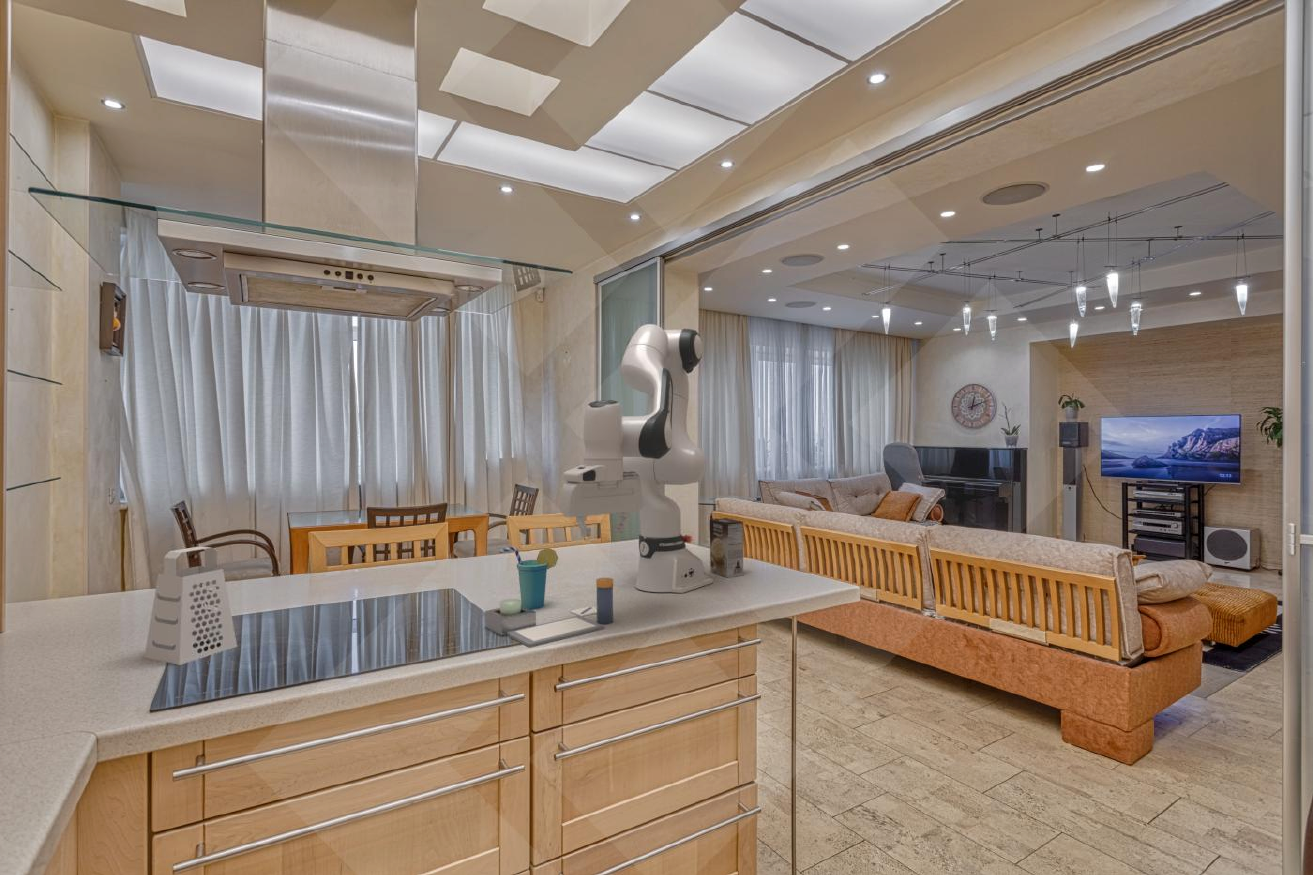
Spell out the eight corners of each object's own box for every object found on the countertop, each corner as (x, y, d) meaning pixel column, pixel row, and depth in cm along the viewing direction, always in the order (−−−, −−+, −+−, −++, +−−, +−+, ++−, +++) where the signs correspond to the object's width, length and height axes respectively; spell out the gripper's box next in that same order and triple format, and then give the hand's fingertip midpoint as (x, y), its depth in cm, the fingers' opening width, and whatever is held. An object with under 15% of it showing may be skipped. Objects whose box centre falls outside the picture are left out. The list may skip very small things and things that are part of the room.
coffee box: (708, 572, 187) (708, 519, 187) (726, 569, 191) (725, 517, 190) (727, 578, 179) (726, 522, 179) (744, 575, 183) (744, 521, 182)
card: (591, 607, 149) (591, 605, 149) (602, 611, 146) (602, 610, 146) (569, 612, 146) (569, 610, 146) (581, 616, 142) (581, 615, 142)
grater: (237, 646, 123) (236, 546, 123) (179, 665, 113) (178, 556, 113) (202, 640, 127) (201, 543, 127) (144, 657, 117) (143, 552, 117)
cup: (501, 614, 144) (501, 550, 144) (497, 605, 152) (497, 544, 151) (561, 607, 149) (560, 545, 149) (554, 599, 157) (553, 540, 157)
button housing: (518, 619, 140) (518, 604, 140) (535, 628, 134) (535, 611, 134) (485, 626, 135) (485, 610, 135) (501, 636, 129) (501, 619, 129)
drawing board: (578, 618, 141) (578, 615, 141) (604, 628, 133) (604, 625, 133) (506, 634, 129) (506, 631, 129) (529, 647, 122) (529, 643, 122)
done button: (514, 615, 137) (514, 598, 137) (524, 620, 134) (524, 602, 134) (496, 619, 134) (496, 601, 134) (505, 624, 131) (505, 605, 131)
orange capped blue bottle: (606, 618, 141) (606, 576, 141) (616, 621, 138) (616, 579, 138) (593, 621, 138) (592, 579, 138) (602, 625, 135) (602, 582, 135)
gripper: (631, 470, 147) (631, 528, 147) (556, 473, 134) (556, 537, 134) (648, 471, 142) (648, 531, 142) (572, 474, 129) (572, 540, 129)
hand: (603, 534), depth 138 cm, fingers open, 8 cm apart
